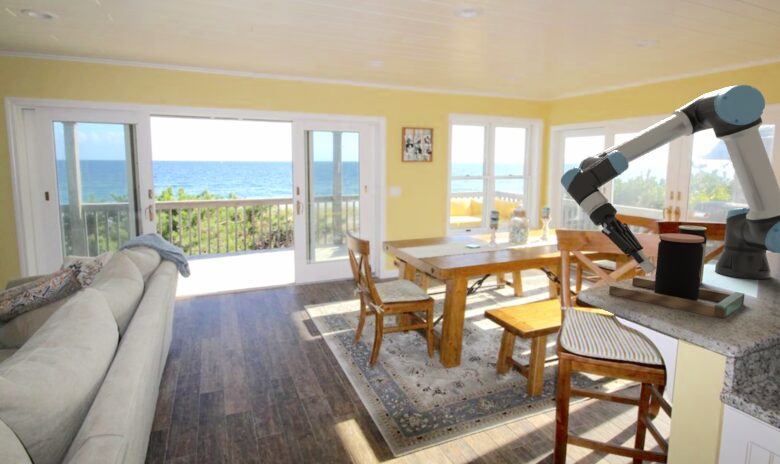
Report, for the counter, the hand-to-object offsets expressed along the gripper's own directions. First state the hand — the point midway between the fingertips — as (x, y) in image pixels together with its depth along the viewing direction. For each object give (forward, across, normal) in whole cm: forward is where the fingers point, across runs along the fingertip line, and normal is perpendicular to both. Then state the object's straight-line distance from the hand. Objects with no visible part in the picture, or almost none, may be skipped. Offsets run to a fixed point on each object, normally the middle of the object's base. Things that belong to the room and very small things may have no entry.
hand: (651, 271), depth 131 cm
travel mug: (+7, -25, -4) cm, 26 cm away
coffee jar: (+10, -1, 0) cm, 10 cm away
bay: (+9, -1, -1) cm, 9 cm away
